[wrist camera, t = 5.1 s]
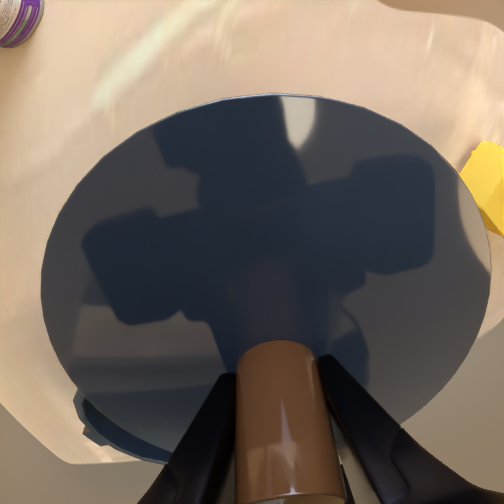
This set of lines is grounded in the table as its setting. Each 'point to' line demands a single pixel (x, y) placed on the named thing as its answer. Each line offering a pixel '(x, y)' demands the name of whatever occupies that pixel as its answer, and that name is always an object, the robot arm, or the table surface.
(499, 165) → the teapot
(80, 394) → the pot
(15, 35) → the container
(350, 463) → the robot arm
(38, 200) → the table surface
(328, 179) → the lid
